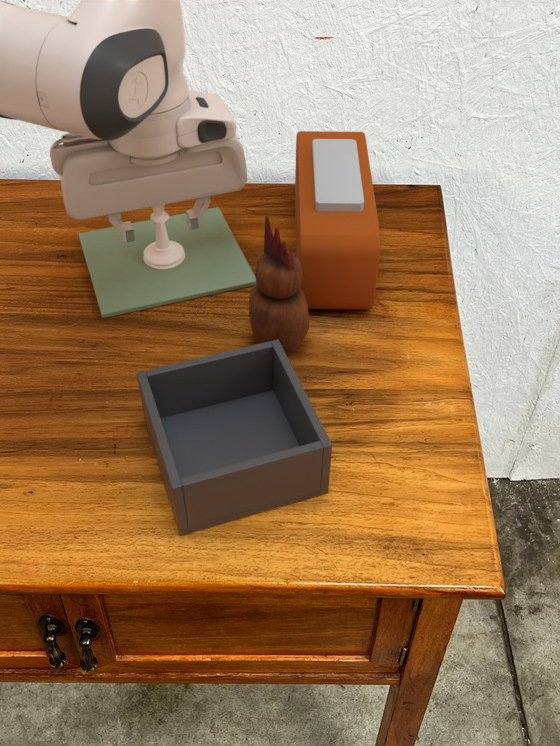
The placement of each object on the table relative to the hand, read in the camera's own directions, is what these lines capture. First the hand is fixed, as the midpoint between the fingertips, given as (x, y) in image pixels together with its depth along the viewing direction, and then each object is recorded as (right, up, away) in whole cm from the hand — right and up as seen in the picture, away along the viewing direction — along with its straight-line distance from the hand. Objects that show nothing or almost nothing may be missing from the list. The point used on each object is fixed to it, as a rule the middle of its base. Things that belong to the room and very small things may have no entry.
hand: (161, 232), depth 90 cm
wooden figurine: (+14, -13, -7) cm, 20 cm away
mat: (0, -3, +3) cm, 4 cm away
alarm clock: (+20, -2, +4) cm, 20 cm away
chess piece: (0, -3, +2) cm, 4 cm away
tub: (+9, -24, -18) cm, 31 cm away
